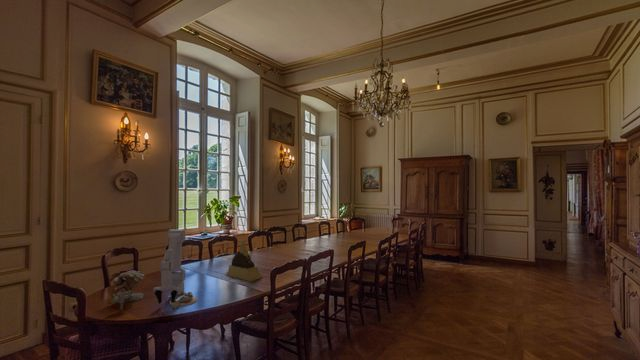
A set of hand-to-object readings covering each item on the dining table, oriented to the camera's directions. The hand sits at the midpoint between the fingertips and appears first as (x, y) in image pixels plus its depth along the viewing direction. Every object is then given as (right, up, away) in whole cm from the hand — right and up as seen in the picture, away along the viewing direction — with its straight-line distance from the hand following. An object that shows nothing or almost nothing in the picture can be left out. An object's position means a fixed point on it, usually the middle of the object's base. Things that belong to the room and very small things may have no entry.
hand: (166, 303), depth 196 cm
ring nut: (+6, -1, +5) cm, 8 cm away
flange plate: (+6, -3, +9) cm, 11 cm away
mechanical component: (-24, -3, -4) cm, 25 cm away
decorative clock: (+32, -4, +66) cm, 73 cm away
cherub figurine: (-32, -3, +16) cm, 36 cm away
